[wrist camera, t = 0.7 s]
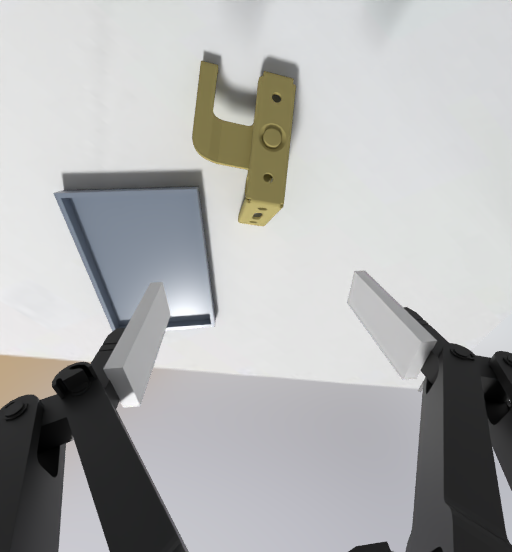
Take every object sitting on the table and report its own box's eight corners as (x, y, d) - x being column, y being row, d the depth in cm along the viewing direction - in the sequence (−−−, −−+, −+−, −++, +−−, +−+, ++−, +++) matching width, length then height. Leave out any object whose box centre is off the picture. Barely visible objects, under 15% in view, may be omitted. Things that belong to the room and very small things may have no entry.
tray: (63, 190, 30) (53, 193, 28) (198, 186, 31) (196, 188, 30) (118, 326, 42) (113, 334, 40) (215, 319, 43) (214, 326, 41)
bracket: (194, 216, 33) (185, 191, 23) (204, 117, 34) (200, 51, 24) (265, 226, 35) (284, 207, 25) (274, 132, 35) (297, 77, 25)
